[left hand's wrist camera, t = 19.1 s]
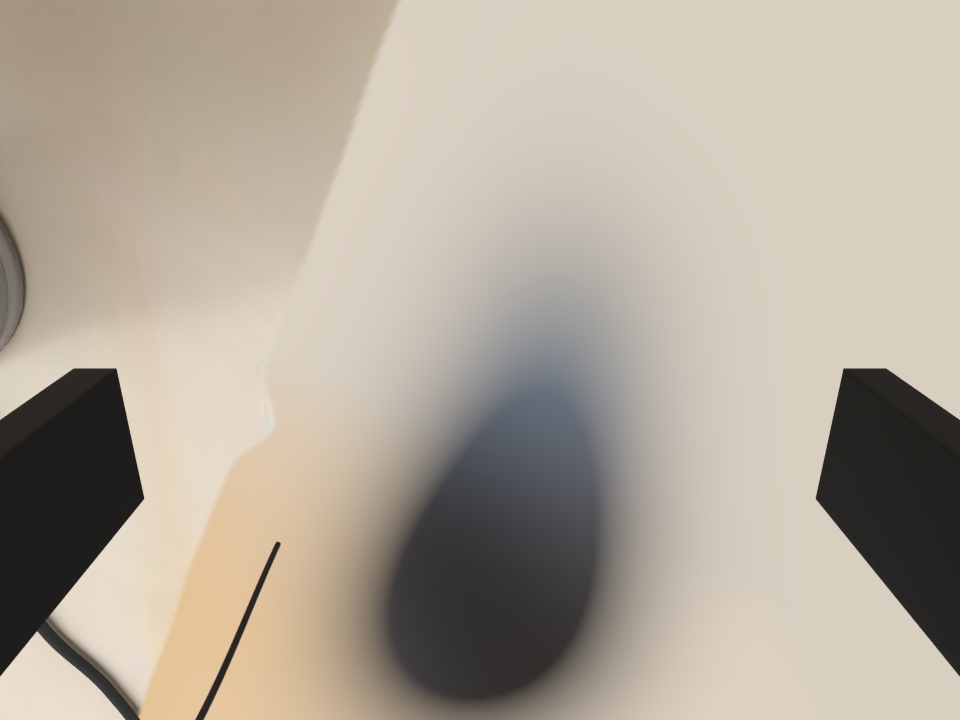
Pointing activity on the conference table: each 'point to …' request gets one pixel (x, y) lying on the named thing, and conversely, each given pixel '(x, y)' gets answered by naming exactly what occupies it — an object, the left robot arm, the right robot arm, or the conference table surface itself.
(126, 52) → the conference table surface
